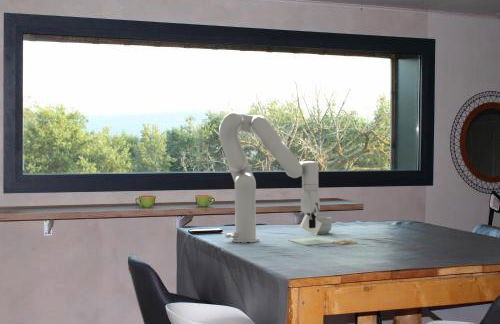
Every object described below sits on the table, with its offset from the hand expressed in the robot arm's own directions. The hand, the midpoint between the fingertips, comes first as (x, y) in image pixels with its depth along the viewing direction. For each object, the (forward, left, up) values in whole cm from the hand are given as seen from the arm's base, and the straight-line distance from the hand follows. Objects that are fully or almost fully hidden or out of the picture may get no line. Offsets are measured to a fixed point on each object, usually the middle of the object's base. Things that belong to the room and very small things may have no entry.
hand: (310, 227), depth 311 cm
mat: (0, -3, -6) cm, 7 cm away
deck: (-2, 0, -2) cm, 2 cm away
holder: (+9, -15, -6) cm, 18 cm away
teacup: (+19, +19, -6) cm, 28 cm away
